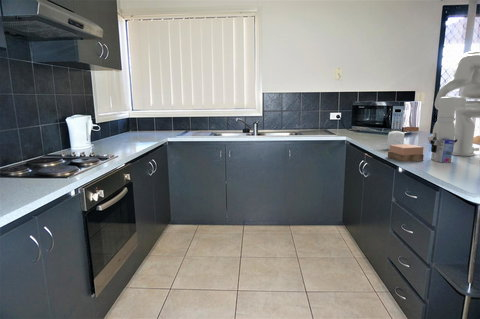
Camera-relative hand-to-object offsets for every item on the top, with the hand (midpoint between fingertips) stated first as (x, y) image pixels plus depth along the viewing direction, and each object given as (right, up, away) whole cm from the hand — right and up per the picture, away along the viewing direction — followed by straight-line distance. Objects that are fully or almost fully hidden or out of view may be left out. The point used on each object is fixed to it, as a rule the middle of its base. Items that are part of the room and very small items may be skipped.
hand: (441, 151), depth 170 cm
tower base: (-16, -4, +8) cm, 18 cm away
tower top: (-16, 0, +7) cm, 18 cm away
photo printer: (-6, +2, +40) cm, 40 cm away
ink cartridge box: (0, -5, +1) cm, 5 cm away
